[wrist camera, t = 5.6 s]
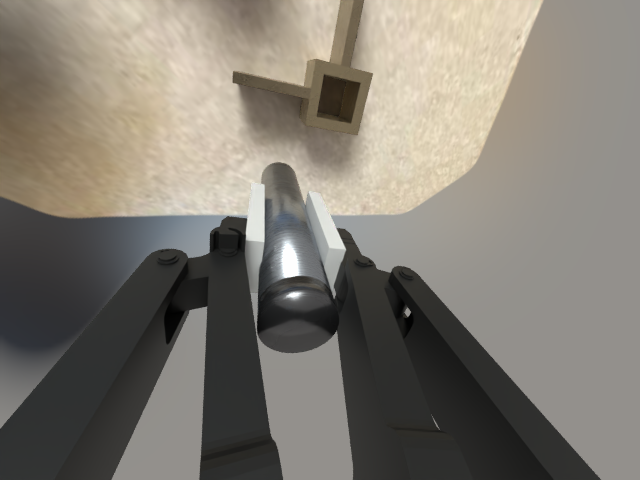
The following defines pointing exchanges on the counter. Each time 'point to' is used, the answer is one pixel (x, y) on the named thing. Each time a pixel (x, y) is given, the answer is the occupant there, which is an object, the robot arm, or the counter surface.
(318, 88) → the hinge
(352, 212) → the counter surface
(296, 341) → the pin
